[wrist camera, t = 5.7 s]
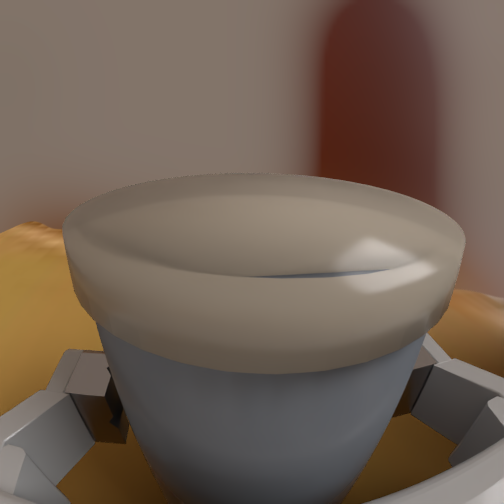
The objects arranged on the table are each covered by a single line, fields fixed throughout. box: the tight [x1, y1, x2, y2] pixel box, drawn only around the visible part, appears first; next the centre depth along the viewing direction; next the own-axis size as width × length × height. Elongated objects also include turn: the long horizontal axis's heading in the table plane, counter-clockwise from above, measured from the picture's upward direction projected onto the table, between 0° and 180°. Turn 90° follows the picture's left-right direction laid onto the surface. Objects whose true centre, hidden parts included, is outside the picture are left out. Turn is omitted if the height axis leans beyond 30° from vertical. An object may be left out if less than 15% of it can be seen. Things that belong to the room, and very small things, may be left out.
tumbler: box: [62, 173, 466, 504], centre depth 7 cm, size 6×6×10 cm
